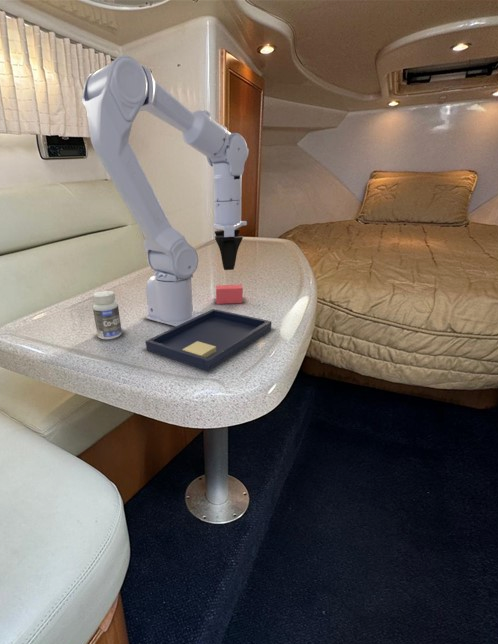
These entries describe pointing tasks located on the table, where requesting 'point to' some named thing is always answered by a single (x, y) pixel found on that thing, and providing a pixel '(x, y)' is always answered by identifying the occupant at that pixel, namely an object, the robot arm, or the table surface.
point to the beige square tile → (201, 349)
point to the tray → (209, 337)
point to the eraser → (229, 294)
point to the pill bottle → (106, 315)
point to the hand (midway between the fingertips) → (228, 265)
